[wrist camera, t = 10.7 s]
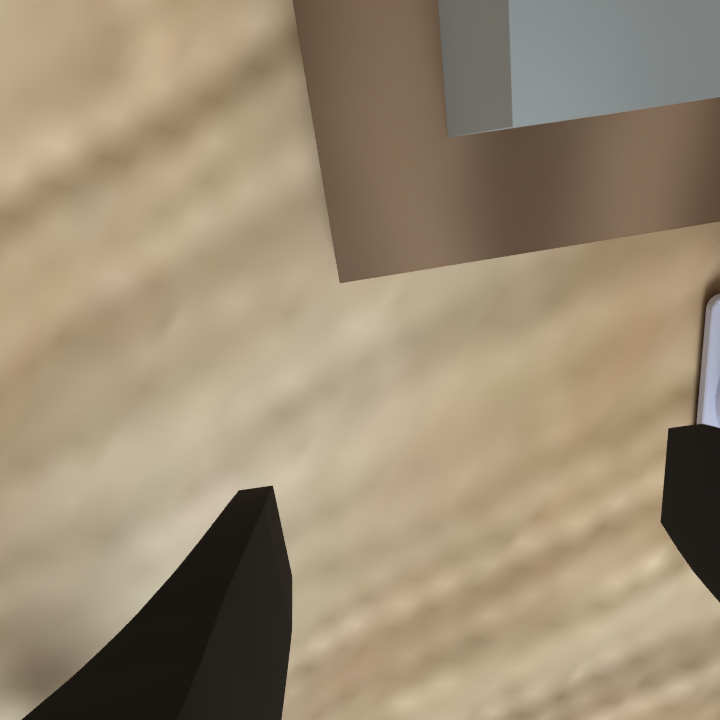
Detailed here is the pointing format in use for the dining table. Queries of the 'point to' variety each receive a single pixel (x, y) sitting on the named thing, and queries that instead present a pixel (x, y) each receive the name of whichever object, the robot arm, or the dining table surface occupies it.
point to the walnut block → (479, 155)
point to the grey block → (573, 59)
